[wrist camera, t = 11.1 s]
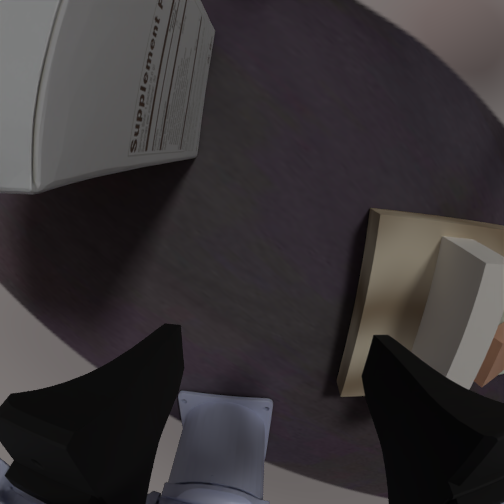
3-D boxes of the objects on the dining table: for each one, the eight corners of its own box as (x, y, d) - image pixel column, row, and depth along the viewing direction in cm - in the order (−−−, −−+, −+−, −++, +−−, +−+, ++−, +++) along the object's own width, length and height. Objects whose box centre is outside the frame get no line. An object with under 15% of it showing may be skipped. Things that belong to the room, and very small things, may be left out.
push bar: (427, 381, 21) (450, 422, 16) (398, 384, 21) (418, 428, 16) (473, 239, 17) (517, 265, 12) (442, 235, 17) (485, 263, 13)
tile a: (489, 360, 22) (503, 370, 21) (467, 375, 21) (481, 387, 19) (506, 320, 21) (521, 329, 19) (485, 332, 19) (502, 343, 18)
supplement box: (77, 154, 19) (-112, 194, 5) (95, 35, 16) (-65, -32, 2) (199, 162, 19) (31, 210, 5) (220, 28, 16) (135, -141, 2)
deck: (454, 371, 23) (462, 384, 21) (336, 380, 24) (340, 396, 22) (500, 225, 19) (515, 232, 17) (370, 207, 19) (380, 214, 17)
